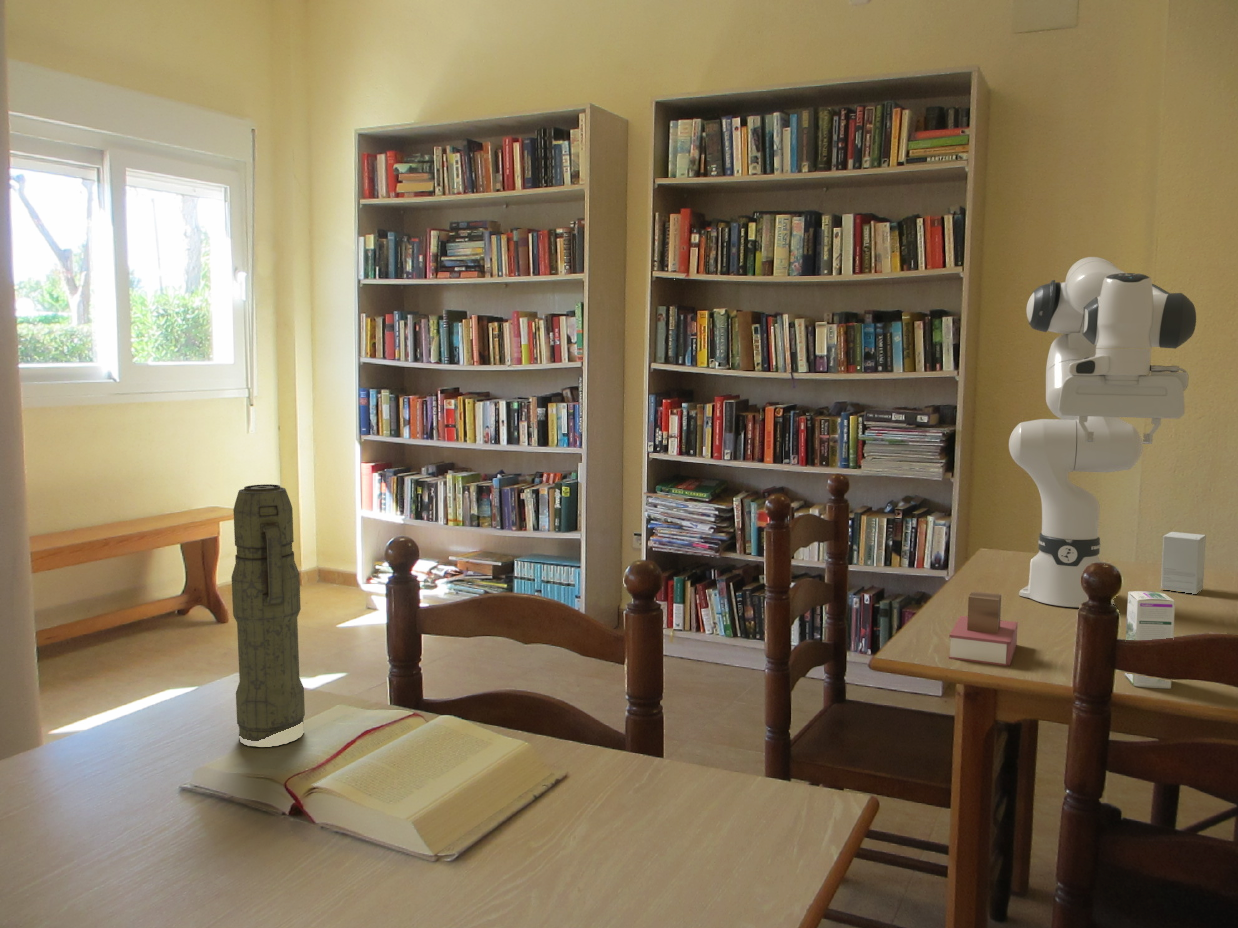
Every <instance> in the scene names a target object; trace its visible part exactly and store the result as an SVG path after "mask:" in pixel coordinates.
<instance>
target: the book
mask: <svg viewBox="0 0 1238 928" xmlns="http://www.w3.org/2000/svg"><path fill="white" fill-rule="evenodd" d="M967 622H968V615H967V616H966V615H965V616H964V615H960V616H959V617H958V620H957V621H956V622H955V624H954V626H953V628H952V630H951V631H950V633H949V637H948V638H950V645H949V647H950V649H949V656H948V659H950V660H958V661H967V662H971V663H979V664H981V663H982V664H986V665H987V664H989V665H997V666H1003V667H1010V665H1011V664H1012V660H1013V657H1014V654H1015V651H1016V648H1017V645H1018V644H1017V642H1018V627H1019V626H1018V624H1019V623H1018V622H1017V621H1009V620H1003V619H1002V620H1001V619H1000V628H999V630H998V633H988V632H980V631H971V630H967Z"/></svg>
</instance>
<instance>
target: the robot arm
mask: <svg viewBox="0 0 1238 928" xmlns="http://www.w3.org/2000/svg"><path fill="white" fill-rule="evenodd" d="M1065 276H1066V277H1065V281H1063V282H1059V281H1058V282H1056V279H1053V280H1052V279H1051V280H1050V282H1049V283H1046V284H1045V283H1044V284H1041V285H1039V286H1037V288H1035V289H1034V290H1033V291H1032V294H1031V295H1030V297H1029V299H1028V301H1027V304H1026V317H1027V321H1028V324H1029V326H1030V328H1031V329H1033V330H1035V331H1039V332H1043V333H1047V332H1050V333H1057V334H1061V335H1059V336H1057V337H1056V338H1055V339H1054V340H1053V341H1052V343H1051V345H1050V347H1049V350H1048V355H1047V359H1046V368H1045V402H1046V405H1047V408H1048V409H1049V410H1050V412H1051V413H1052V414H1053V415H1054V416H1055V417H1057V418H1058V419H1056V418H1055V419H1051V418H1040V419H1034V420H1028V421H1022V422H1020V423H1017V425H1015V428H1013V430H1012V432H1011V434H1010V436H1009V439H1008V451H1009V454H1010V457H1011V458H1012V460H1013V461H1014V462H1015V463H1016V465H1018V466H1019V467H1021V468H1022V470H1024V471H1025V472H1026V473H1027V474H1028V475H1029V477H1031V479H1032V480H1033V482H1034V483H1035V485H1036V487H1037V489H1038V491H1039V495H1040V501H1041V532H1040V533H1039V536H1038V541H1037V543H1038V550H1039V551H1038V553H1037V554H1036V555H1034V556H1032V557H1033V558H1031V559H1030V563H1029V577H1028V584H1027V586H1025V587H1023V588H1021V589H1020V590H1019V592H1018V595H1019V596H1021V597H1024V598H1029V599H1031V600H1034V601H1036V602H1040V603H1043V604H1047V605H1052V606H1058V607H1065V608H1066V607H1067V608H1080V607H1079V605H1081V603H1083V602H1084V601H1087V596H1086V594H1085V593H1084V591H1083V590H1082V588H1081V584H1080V579H1081V574H1082V573H1083V571H1084V569H1085V568H1086V566H1088V565H1090V564H1091V563H1093V562H1102V563H1104V562H1103V561H1102V560H1101V559H1100V557H1099V555H1100V552H1101V551H1100V550H1101V538H1100V536H1099V526H1100V525H1099V523H1100V522H1099V521H1100V502H1099V500H1098V499H1097V497H1096V496H1095V495H1094V494H1092V493H1091V492H1090V491H1088V490H1086V489H1084V488H1082V487H1081V486H1078V485H1077V484H1075V483H1073V482H1072V481H1071V480H1070V478H1069V474H1070V473H1071V472H1080V473H1081V472H1083V473H1090V472H1091V473H1104V474H1105V473H1106V474H1108V473H1112V472H1114V473H1115V472H1121V471H1128V470H1131V469H1132V468H1134V467H1135V465H1137V463H1138V462H1139V461H1140V458H1141V456H1142V453H1143V447H1144V446H1143V444H1145V445H1153V440H1154V439H1153V437H1154V435H1155V433H1156V432H1157V430H1158V429H1159V428H1160V426H1161V424H1162V419H1172V420H1173V419H1174V420H1175V419H1176V420H1177V419H1181V418H1182V417H1183V416H1184V415H1185V411H1186V410H1185V395H1184V394H1185V391H1186V390H1187V389H1188V386H1189V373H1188V372H1187V370H1185V369H1184V368H1181V367H1180V366H1179V365H1158V364H1156V365H1151V363H1152V362H1151V359H1152V348H1160V349H1161V348H1162V349H1175V350H1176V349H1178V348H1179V347H1180V346H1182V345H1183V344H1185V343H1186V342H1187V341H1188V340H1189V339H1190V338H1192V337H1193V334H1194V333H1195V329H1196V325H1197V312H1196V307H1195V304H1194V303H1193V302H1192V301H1191V299H1190V298H1188V297H1187V295H1185V294H1184V293H1182V292H1168V291H1167V290H1165V289H1163V288H1161V286H1158V285H1157V284H1154V283H1153V281H1152V279H1151V277H1150V276H1148V275H1146V274H1144V273H1135V272H1133V273H1132V272H1125V271H1124V270H1121V269H1119V268H1118V267H1117V266H1116V265H1115V264H1114V263H1112V262H1111V261H1110V260H1108V259H1106V258H1105V259H1104V258H1103V257H1097V256H1087V257H1083V258H1081V259H1078V261H1075V262H1074V263H1073V264H1072V265H1071V267H1070V268H1069V269H1068V271H1067V274H1066V275H1065ZM1122 418H1136V419H1137V418H1138V419H1143V418H1144V419H1146V418H1147V419H1151V424H1152V425H1153V426H1152V427H1151V429H1150V430H1149V431H1148V432H1147V433H1146V432H1145V433H1144V432H1143V434H1142V436H1143V438H1142V436H1141V434H1140V432H1139V431H1138V429H1137V428H1136V427H1135V426H1134V425H1133V424H1132V423H1129V422H1127V421H1124V420H1123V419H1122ZM1114 600H1115V599H1114ZM1114 600H1113V601H1112V603H1113V604H1114V605H1113V606H1115V605H1116V603H1114Z"/></svg>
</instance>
